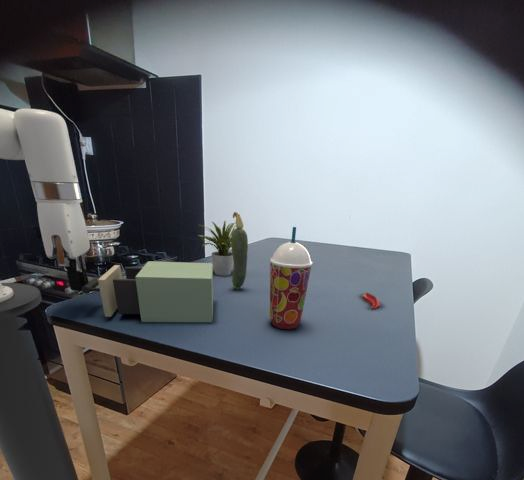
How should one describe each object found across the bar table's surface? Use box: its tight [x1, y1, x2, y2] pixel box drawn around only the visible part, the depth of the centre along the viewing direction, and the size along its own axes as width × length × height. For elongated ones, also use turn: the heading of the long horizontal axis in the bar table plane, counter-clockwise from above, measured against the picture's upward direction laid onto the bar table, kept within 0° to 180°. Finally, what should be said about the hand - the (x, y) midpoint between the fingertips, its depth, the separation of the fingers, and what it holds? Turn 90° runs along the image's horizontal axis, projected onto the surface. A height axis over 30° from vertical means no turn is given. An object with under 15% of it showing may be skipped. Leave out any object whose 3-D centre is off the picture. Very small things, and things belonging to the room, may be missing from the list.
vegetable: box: [230, 211, 249, 291], centre depth 83 cm, size 4×4×20 cm
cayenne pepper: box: [362, 292, 381, 310], centre depth 85 cm, size 12×5×2 cm, turn 163°
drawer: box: [81, 264, 144, 318], centre depth 69 cm, size 18×11×8 cm, turn 97°
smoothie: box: [269, 226, 313, 330], centre depth 64 cm, size 8×8×20 cm
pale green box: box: [135, 260, 214, 323], centre depth 70 cm, size 15×13×10 cm
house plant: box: [197, 220, 236, 277], centre depth 99 cm, size 14×14×16 cm
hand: (80, 289), depth 67 cm, fingers closed
